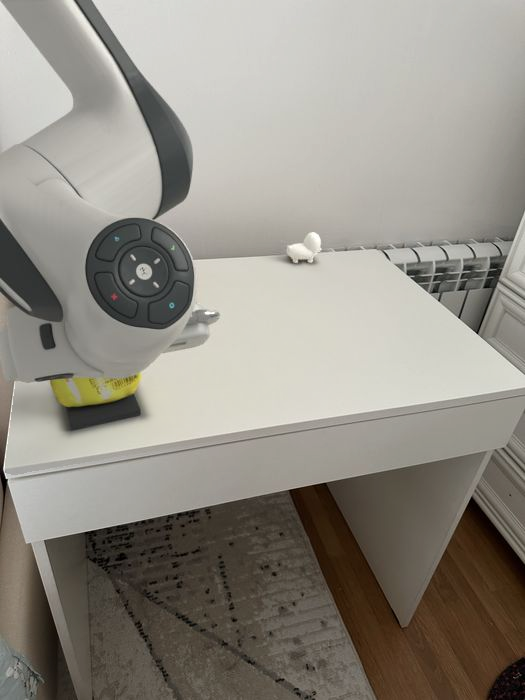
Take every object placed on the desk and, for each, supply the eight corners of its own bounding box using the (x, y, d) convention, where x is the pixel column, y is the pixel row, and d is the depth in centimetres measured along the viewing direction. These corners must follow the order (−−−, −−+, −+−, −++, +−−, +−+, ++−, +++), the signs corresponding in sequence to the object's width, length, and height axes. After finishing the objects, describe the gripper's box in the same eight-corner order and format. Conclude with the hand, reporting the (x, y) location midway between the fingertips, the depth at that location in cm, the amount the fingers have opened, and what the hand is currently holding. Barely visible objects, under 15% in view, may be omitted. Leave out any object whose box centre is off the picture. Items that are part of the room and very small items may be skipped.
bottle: (56, 422, 68) (31, 284, 57) (49, 392, 73) (24, 258, 61) (148, 401, 73) (142, 270, 62) (136, 374, 78) (128, 247, 66)
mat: (71, 430, 69) (70, 425, 68) (61, 388, 75) (60, 383, 75) (140, 415, 72) (140, 409, 72) (125, 376, 79) (125, 370, 78)
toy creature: (323, 264, 115) (327, 237, 111) (287, 265, 113) (290, 237, 110) (316, 255, 119) (321, 228, 115) (282, 255, 117) (285, 228, 113)
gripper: (217, 279, 52) (185, 314, 65) (-15, 311, 44) (1, 343, 57) (232, 341, 51) (197, 364, 64) (-1, 385, 43) (12, 401, 56)
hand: (103, 355), depth 60 cm, fingers open, 8 cm apart
